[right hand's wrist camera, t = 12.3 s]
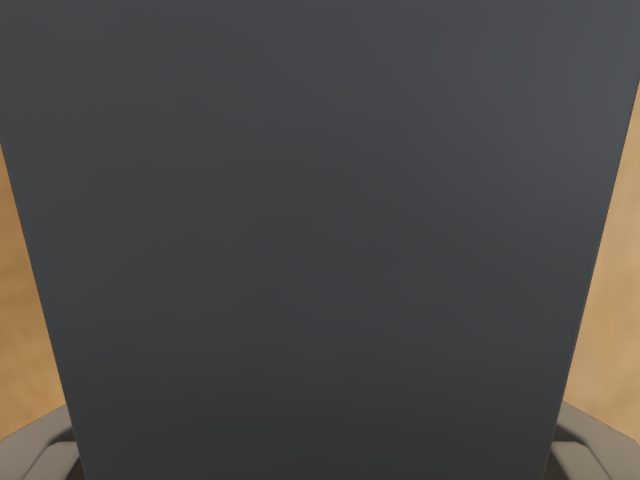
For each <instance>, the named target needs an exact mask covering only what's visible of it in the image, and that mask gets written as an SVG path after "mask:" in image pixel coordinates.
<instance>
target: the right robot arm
mask: <svg viewBox="0 0 640 480" xmlns="http://www.w3.org/2000/svg"><path fill="white" fill-rule="evenodd" d="M0 480H86V479H85V475H84V471H83V468H82V464H81V460H80V456H79V452H78V448H77V444H76V440H75V436H74V432H73V428H72V424H71V420H70V416H69V412H68V408H67V404H65V405H63V406H61V407H59V408H57V409H56V410H54V411H52V412H50V413H48V414H47V415H45V416H43V417H41V418H39V419H37V420H36V421H34V422H32V423H30V424H28V425H27V426H25V427H23V428H21V429H19V430H17V431H16V432H14V433H12V434H10V435H8V436H7V437H5V438H3V439H1V440H0ZM543 480H640V446H639V445H638V444H637V443H636V441H635V440H633V439H631V438H629V437H628V436H626V435H624V434H622V433H620V432H619V431H617V430H615V429H613V428H611V427H610V426H608V425H606V424H604V423H602V422H601V421H599V420H597V419H595V418H593V417H592V416H590V415H588V414H586V413H584V412H583V411H581V410H579V409H577V408H576V407H574V406H572V405H570V404H568V403H567V402H565V401H563V400H562V403H561V407H560V412H559V416H558V420H557V424H556V428H555V432H554V436H553V441H552V445H551V449H550V453H549V457H548V461H547V465H546V469H545V474H544V478H543Z"/></svg>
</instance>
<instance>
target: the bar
mask: <svg viewBox="0 0 640 480" xmlns="http://www.w3.org/2000/svg"><path fill="white" fill-rule="evenodd" d="M639 81H640V0H0V143H1V147H2V151H3V155H4V159H5V163H6V167H7V171H8V175H9V179H10V183H11V187H12V191H13V195H14V199H15V203H16V207H17V210H18V214H19V218H20V222H21V226H22V230H23V234H24V238H25V242H26V246H27V250H28V254H29V258H30V262H31V266H32V270H33V274H34V278H35V282H36V286H37V290H38V294H39V297H40V301H41V305H42V309H43V313H44V317H45V321H46V325H47V329H48V333H49V337H50V341H51V345H52V349H53V353H54V357H55V361H56V365H57V369H58V373H59V377H60V381H61V384H62V388H63V392H64V396H65V400H66V404H67V408H68V412H69V416H70V420H71V424H72V428H73V432H74V436H75V440H76V444H77V448H78V452H79V456H80V460H81V464H82V468H83V471H84V475H85V479H86V480H543V478H544V474H545V469H546V465H547V461H548V457H549V453H550V449H551V445H552V441H553V436H554V432H555V428H556V424H557V420H558V416H559V412H560V407H561V403H562V399H563V395H564V391H565V387H566V383H567V379H568V374H569V370H570V366H571V362H572V358H573V354H574V350H575V345H576V341H577V337H578V333H579V329H580V325H581V321H582V317H583V312H584V308H585V304H586V300H587V296H588V292H589V288H590V283H591V279H592V275H593V271H594V267H595V263H596V259H597V255H598V250H599V246H600V242H601V238H602V234H603V230H604V226H605V221H606V217H607V213H608V209H609V205H610V201H611V197H612V193H613V188H614V184H615V180H616V176H617V172H618V168H619V164H620V159H621V155H622V151H623V147H624V143H625V139H626V135H627V131H628V126H629V122H630V118H631V114H632V110H633V106H634V102H635V97H636V93H637V89H638V85H639Z"/></svg>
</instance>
